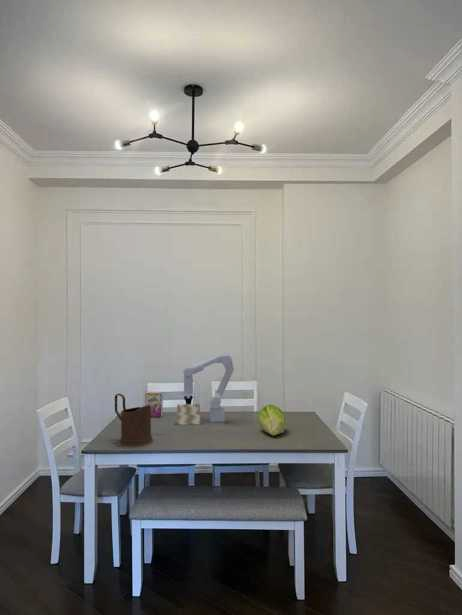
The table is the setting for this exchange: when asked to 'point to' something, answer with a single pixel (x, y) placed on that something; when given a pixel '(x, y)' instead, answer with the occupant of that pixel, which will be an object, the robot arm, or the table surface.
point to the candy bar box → (155, 403)
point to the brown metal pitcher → (134, 424)
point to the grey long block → (176, 422)
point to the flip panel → (188, 414)
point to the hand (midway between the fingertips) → (188, 407)
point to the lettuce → (272, 420)
